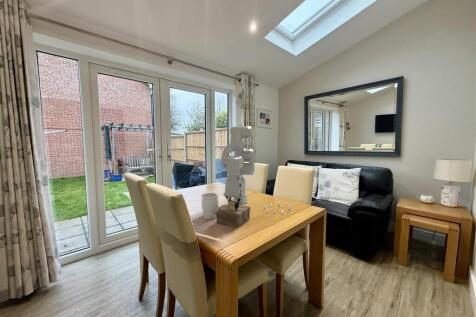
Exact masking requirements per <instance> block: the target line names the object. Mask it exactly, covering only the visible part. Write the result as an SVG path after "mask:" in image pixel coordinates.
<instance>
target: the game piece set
mask: <svg viewBox="0 0 476 317" xmlns="http://www.w3.org/2000/svg"><path fill="white" fill-rule="evenodd" d="M277 203H278V206H279V207H281V204H282V202H280V201H279V202H277ZM267 204H268V202H266V203H265V205H264V207H263V209H266V208H268V207H269V206H268V205H267ZM272 204H273V203H272V202H270V206H271V207H273V205H272ZM286 207H287V208H288V210H287V211H286V213H288V212H289V213H290V210H291V208H292V206H291V205H289V206H288V205H287V206H286ZM289 209H290V210H289ZM265 212H266V213H269V210H268V209H266V210H265ZM280 212H281V213H282V214H281V215H284V210H280ZM273 213H274V214H276V211H275V210H273V211H272V214H273Z"/></svg>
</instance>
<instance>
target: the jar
mask: <svg viewBox="0 0 476 317" xmlns="http://www.w3.org/2000/svg"><path fill="white" fill-rule="evenodd" d="M218 197H219V194H218V193H213V192H208V193H203V194H201V210H202V213H203V214H202V215H203V217H204V218H205V219H210V220H211V219H215V218H216V211H217V210H219V198H218Z"/></svg>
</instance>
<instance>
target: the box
mask: <svg viewBox="0 0 476 317" xmlns="http://www.w3.org/2000/svg"><path fill="white" fill-rule="evenodd" d="M250 216H251V208H250V209H249V210H248V211H246V212H245V213H243V214H242V215H240V216H239V217H237V218H236V217H232V216H227V215H223V214H218V213H216V217H215V218H216V220H215V221H216V224H218V225H219V224H220V225H223V226H227V227H231V228H236V229H238V228H239V227H240V226H242V225H243V224H244V223H247V221H248V220H250V218H251V217H250Z"/></svg>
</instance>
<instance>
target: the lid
mask: <svg viewBox="0 0 476 317" xmlns="http://www.w3.org/2000/svg"><path fill="white" fill-rule="evenodd" d="M235 203H236V200H233V199H231V201H229V207H228V204H227V205H224V206H223V207H220V208H218V210H217V211H216V213H218V214H223V215H227V216H232V217H236V218H237V217H239V216H240V215H242V214H243V213H245V212H246V211H248V210H249V209H250V210H251V206H248V205H243V204H239V208H237V209H235Z"/></svg>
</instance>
